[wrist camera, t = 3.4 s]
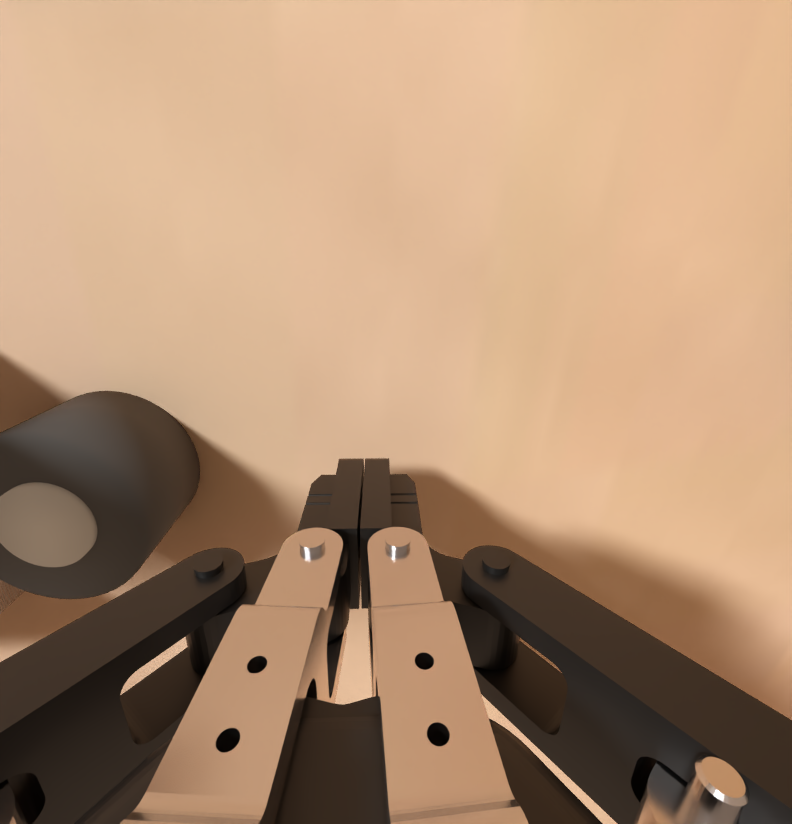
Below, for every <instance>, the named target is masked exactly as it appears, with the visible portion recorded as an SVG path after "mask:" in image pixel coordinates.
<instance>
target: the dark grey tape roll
mask: <svg viewBox="0 0 792 824" xmlns="http://www.w3.org/2000/svg"><path fill="white" fill-rule="evenodd" d="M199 478H200V466H199V459H198V455H197V452H196V449H195V447H194V444H193V442H192V441H191V439H190V437H189V435H188V434H187V432H186V431H185V430H184V428H183V427H182V426H181V425H180V424H179V423H178V422H177V420H176V419H174V418H173V417H172V416H171V415H170V414H169V413H167V412H166V411H165V410H163V409H162V408H160V407H159V406H157V405H155V404H153V403H152V402H150V401H148V400H145V399H143V398H140V397H138V396H134V395H131V394H127V393H122V392H114V391H99V392H92V393H86V394H83V395H80V396H77V397H75V398H73V399H71V400H69V401H67V402H64V403H62V404H60V405H58V406H56V407H54V408H52V409H50V410H48V411H45V412H43V413H41V414H39V415H37V416H35V417H33V418H31V419H29V420H26V421H24V422H22V423H20V424H18V425H16V426H14V427H12V428H10V429H7V430H5V431H3V432H1V433H0V580H2V581H4V582H6V583H8V584H10V585H12V586H14V587H17V588H19V589H21V590H24V591H27V592H30V593H33V594H37V595H41V596H46V597H52V598H60V599H80V598H88V597H94V596H98V595H101V594H105V593H108V592H110V591H112V590H114V589H116V588H118V587H120V586H121V585H123V584H124V583H126V582H127V581H128V580H129V579H130V578H132V577H133V575H134V574H135V573H136V572H137V571H138V570H139V568H140V567H141V566H142V564H143V563H144V562H145V560H146V559H147V558H148V556H149V555H150V554H151V553H152V551H153V550H154V549H155V547H156V546H157V545H158V543H159V542H160V541H161V539H162V538H163V537H164V535H165V534H166V533H167V532H168V530H169V529H170V528H171V526H172V525H173V524H174V522H175V521H176V520H177V518H178V517H179V516H180V514H181V513H182V512H183V511H184V509H185V508H186V507H187V505H188V504H189V503H190V501H191V500H192V498H193V496H194V495H195V492H196V490H197V487H198V483H199Z"/></svg>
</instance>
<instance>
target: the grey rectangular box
mask: <svg viewBox="0 0 792 824" xmlns="http://www.w3.org/2000/svg"><path fill="white" fill-rule="evenodd" d="M23 592H24V590H21V589H19V588H17V587H14V586H12V585H10V584H8V583H6V582H4V581H2V580H0V614H1V613H2V612H3V611H4V610H5V609H6V608H7V607H8V606H9V605H10V604H11V603H12V602H13V601H14V600H15V599H16V598H18V597H19V596H20V595H21V594H22V593H23Z"/></svg>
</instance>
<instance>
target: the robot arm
mask: <svg viewBox="0 0 792 824" xmlns="http://www.w3.org/2000/svg"><path fill="white" fill-rule="evenodd" d="M360 584H361V597H362V608H368V617H369V651H370V668H371V685H372V697H371V698H368V699H364V700H361V701H357V702H353V703H350V704H345V705H339V704H335V699H336V694H337V688H338V682H339V677H340V671H341V666H342V660H343V654H344V649H345V643H346V636H347V634H346V627H347V624H348V620H349V609H359V600H360ZM185 636H186V641H187V646H188V647H187V648H186V649H184V650H183V651H182V652H180V653H179V654H178V655H176V656H175V657H173V658H172V659H171V660H169V661H168V662H166V663H165V664H164V665H162V666H161V667H159V668H158V669H157V670H155V671H154V672H153V673H151V674H150V675H148V676H147V677H146V678H144V679H143V680H141V681H140V682H139V683H137V684H136V685H135V686H133V687H132V688H130V689H129V690H128V691H126V692H125V693H123V694H122V695H120V693H121V690H122V688H123V686H124V684H125V682H126V681H127V680H128V678H129V677H130V676H131V675H132V674H133V673H134V672H135V671H137V670H138V669H139V668H141V667H142V666H143V665H145V664H146V663H148V662H149V661H151V660H152V659H154V658H155V657H156V656H158V655H159V654H161V653H162V652H164V651H165V650H166V649H168V648H169V647H171V646H172V645H174V644H175V643H176V642H178V641H179V640H181V639H182V638H184V637H185ZM520 638H522V639H523V640H524V641H525V642H527V643H528V644H529V645H531V646H532V647H533V648H535V649H536V650H537V651H539V652H540V653H541V654H542V655H544V656H545V657H546V658H548V659H549V660H550V661H552V662H553V663H554V664H555V665H556V666H557V667H558V668H559V669H560V671H561V672H562V673H561V672H559V671H558V670H557V669H555V668H554V667H553V666H552V665H550V664H549V663H548V662H546V661H545V660H544V659H543V658H541V657H540V656H539V655H537V654H536V653H535V652H533V651H532V650H531V649H530V648H528V647H527V646H526V645H524V644H523V643H522V642H521V641H519V639H520ZM481 694H482V695H483V696H484V697H485V698H486V699H487V700H488V701H489V702H490V703H491V704H492V705H493V706H494V707H495V708H497V709H498V710H499V711H500V712H501V713H502V714H503V715H504V716H505V717H506V718H507V719H508V720H509V721H510V722H511V723H512V724H513V725H514V726H515V727H517V728H518V729H519V730H520V731H521V732H522V733H523V734H524V735H525V736H526V737H527V738H528V739H529V740H530V741H531V742H532V743H533V744H534V745H535V746H537V747H538V748H539V749H540V750H541V751H542V752H543V753H544V754H545V755H546V756H547V757H548V758H549V759H550V760H551V761H552V762H553V763H554V764H555V765H557V766H558V767H559V768H560V769H561V770H562V771H563V772H564V773H565V774H566V775H567V776H568V777H569V778H570V779H571V780H572V781H573V782H574V783H575V784H577V785H578V786H579V787H580V788H581V789H582V790H583V791H584V792H585V793H586V794H587V795H588V796H589V797H590V798H591V799H592V800H593V801H594V802H595V803H597V804H598V805H599V806H600V807H601V808H602V809H603V810H604V811H605V812H606V813H607V814H608V815H609V816H610V817H611V818H612V819H613V820H614V821H615V822H617V823H618V824H792V720H790V719H788V718H787V717H785V716H783V715H782V714H780V713H779V712H777V711H775V710H774V709H772V708H770V707H769V706H767V705H765V704H764V703H762V702H760V701H759V700H757V699H755V698H754V697H752V696H750V695H749V694H747V693H745V692H744V691H742V690H741V689H739V688H737V687H736V686H734V685H732V684H731V683H729V682H727V681H726V680H724V679H722V678H721V677H719V676H717V675H716V674H714V673H712V672H711V671H709V670H707V669H706V668H704V667H703V666H701V665H699V664H698V663H696V662H694V661H693V660H691V659H689V658H688V657H686V656H684V655H683V654H681V653H679V652H678V651H676V650H674V649H673V648H671V647H670V646H668V645H666V644H665V643H663V642H661V641H660V640H658V639H656V638H655V637H653V636H651V635H650V634H648V633H646V632H645V631H643V630H641V629H640V628H638V627H636V626H635V625H633V624H632V623H630V622H628V621H627V620H625V619H623V618H622V617H620V616H618V615H617V614H615V613H613V612H612V611H610V610H608V609H607V608H605V607H603V606H602V605H600V604H598V603H597V602H595V601H594V600H592V599H590V598H589V597H587V596H585V595H584V594H582V593H580V592H579V591H577V590H575V589H574V588H572V587H570V586H569V585H567V584H565V583H564V582H562V581H560V580H559V579H557V578H556V577H554V576H552V575H551V574H549V573H547V572H546V571H544V570H542V569H541V568H539V567H537V566H536V565H534V564H532V563H531V562H529V561H527V560H526V559H524V558H522V557H521V556H519V555H518V554H516V553H514V552H512V551H510V550H508V549H505V548H502V547H498V546H480V547H476V548H474V549H472V550H470V551H469V552H467V554H466V555H465V556H464V559H463V560H461V559H457V558H452V557H448V556H445V555H442V554H440V553H438V552H436V551H434V550H433V549H431V548H430V547H429V546H428V543H427V540H426V539H425V537H424V536H423V535H422V528H421V521H420V514H419V508H418V501H417V495H416V487H415V483H414V482H413V481H412V480H411V479H410V477H409V476H408V475H407V474H390V470H389V459H365V470H364V460H363V459H339V463H338V468H337V472H336V475H321V476H320V477H319V478H318V479H316V480H315V481H314V482H313V483H312V484H311V488H310V491H309V496H308V498H307V501H306V505H305V508H304V511H303V514H302V518H301V521H300V524H299V528H298V531H297V532H296V533H294V534H292V535H291V536H289V537H288V538H287V539H286V540H285V541H284V543H283V544H282V547H281V549H280V551H279V553H278V555H276V556H273V557H271V558H268V559H264V560H260V561H256V562H251V563H247V564H244V559H243V557H242V555H241V554H240V553H239V552H237V551H235V550H233V549H228V548H214V549H208V550H205V551H202V552H199V553H196V554H194V555H192V556H190V557H189V558H187V559H185V560H183V561H181V562H180V563H178V564H176V565H174V566H172V567H171V568H169V569H167V570H165V571H164V572H162V573H160V574H158V575H156V576H155V577H153V578H151V579H149V580H147V581H146V582H144V583H142V584H140V585H138V586H137V587H135V588H133V589H131V590H129V591H128V592H126V593H124V594H122V595H120V596H119V597H117V598H115V599H113V600H111V601H110V602H108V603H106V604H104V605H102V606H101V607H99V608H97V609H95V610H93V611H92V612H90V613H88V614H86V615H84V616H83V617H81V618H79V619H77V620H75V621H74V622H72V623H70V624H68V625H66V626H65V627H63V628H61V629H59V630H57V631H56V632H54V633H52V634H50V635H48V636H47V637H45V638H43V639H41V640H39V641H38V642H36V643H34V644H32V645H30V646H29V647H27V648H25V649H23V650H21V651H20V652H18V653H16V654H14V655H12V656H11V657H9V658H7V659H5V660H3V661H2V662H0V824H602V823H601V822H600V821H599V820H598V819H597V817H596V816H595V815H594V814H593V813H592V812H591V811H590V810H589V809H588V808H587V807H586V806H585V805H584V804H583V803H582V802H581V801H580V800H579V799H578V798H577V797H576V796H575V795H574V794H573V793H572V792H571V791H570V790H569V789H568V788H567V787H566V786H565V785H564V784H563V783H562V782H561V781H560V780H559V779H558V778H557V777H556V776H555V775H554V773H553V772H552V771H551V770H550V769H549V768H548V767H547V766H546V765H545V764H544V763H543V762H542V761H541V760H540V759H539V758H538V757H537V756H536V755H535V754H534V753H533V752H532V751H531V750H530V749H529V748H528V747H527V746H526V745H525V744H524V743H523V742H522V741H521V740H520V739H518V738H517V737H516V736H515V735H513V734H512V733H511V732H510V731H509V730H507V729H506V728H504V727H503V726H501V725H499V724H498V723H496V722H495V721H493V720H491V719H489V718H488V715H487V712H486V708H485V705H484V702H483V699H482V695H481Z"/></svg>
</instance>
